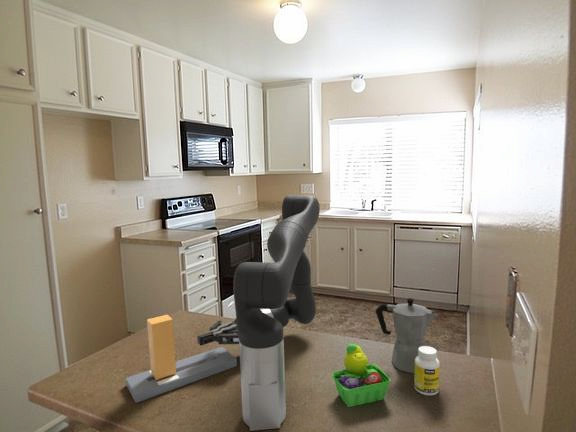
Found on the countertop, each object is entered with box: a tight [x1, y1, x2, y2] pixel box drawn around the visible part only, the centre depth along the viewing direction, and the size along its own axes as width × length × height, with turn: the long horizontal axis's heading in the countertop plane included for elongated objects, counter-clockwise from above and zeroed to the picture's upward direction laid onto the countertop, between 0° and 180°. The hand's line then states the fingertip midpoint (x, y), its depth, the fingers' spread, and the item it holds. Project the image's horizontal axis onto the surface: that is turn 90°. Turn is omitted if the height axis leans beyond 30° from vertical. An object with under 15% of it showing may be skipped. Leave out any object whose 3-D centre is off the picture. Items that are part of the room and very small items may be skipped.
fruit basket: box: [331, 342, 391, 408], centre depth 85 cm, size 11×9×11 cm
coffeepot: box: [375, 297, 439, 374], centre depth 98 cm, size 15×9×18 cm, turn 67°
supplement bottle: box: [413, 345, 441, 396], centre depth 87 cm, size 5×5×10 cm
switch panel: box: [125, 346, 238, 404], centre depth 96 cm, size 26×9×2 cm, turn 126°
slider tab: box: [146, 314, 177, 380], centre depth 93 cm, size 5×4×14 cm
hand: (198, 341), depth 98 cm, fingers closed
